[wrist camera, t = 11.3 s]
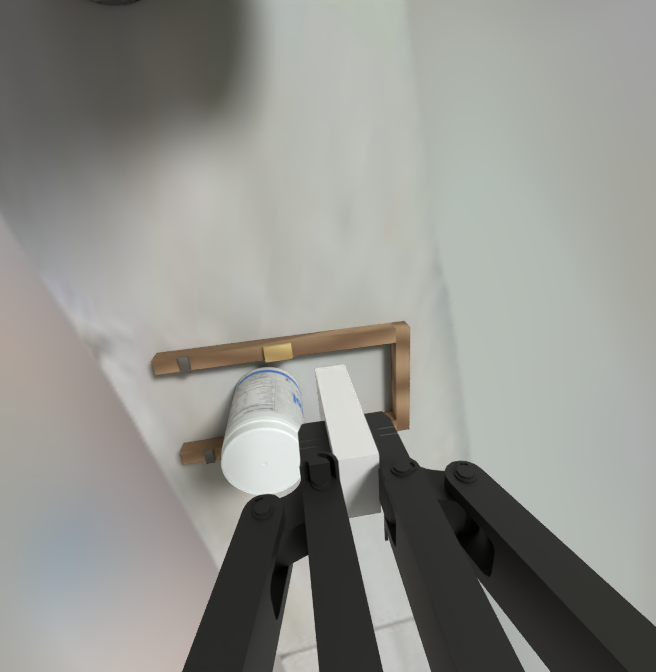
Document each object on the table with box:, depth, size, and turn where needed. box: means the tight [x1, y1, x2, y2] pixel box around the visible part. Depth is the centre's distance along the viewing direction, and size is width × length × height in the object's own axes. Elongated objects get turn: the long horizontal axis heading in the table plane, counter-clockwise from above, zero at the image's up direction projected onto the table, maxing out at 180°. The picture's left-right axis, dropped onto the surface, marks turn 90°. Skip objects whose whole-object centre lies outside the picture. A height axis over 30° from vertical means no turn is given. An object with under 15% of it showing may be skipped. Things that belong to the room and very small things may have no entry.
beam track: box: [151, 321, 410, 465], centre depth 52 cm, size 17×34×3 cm, turn 95°
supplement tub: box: [221, 367, 304, 495], centre depth 46 cm, size 10×10×15 cm
